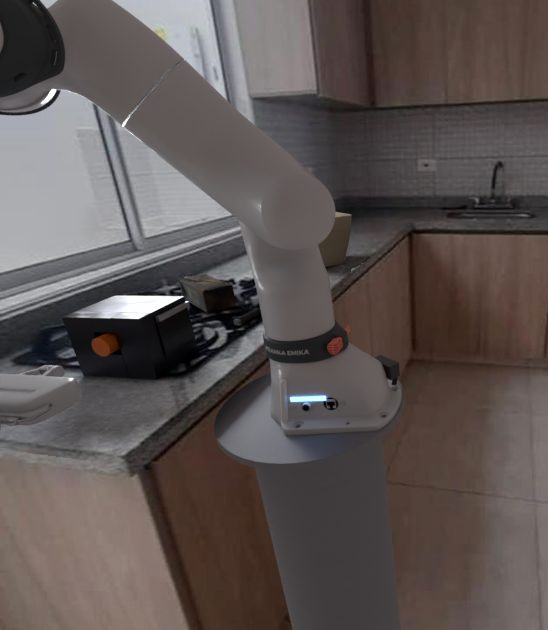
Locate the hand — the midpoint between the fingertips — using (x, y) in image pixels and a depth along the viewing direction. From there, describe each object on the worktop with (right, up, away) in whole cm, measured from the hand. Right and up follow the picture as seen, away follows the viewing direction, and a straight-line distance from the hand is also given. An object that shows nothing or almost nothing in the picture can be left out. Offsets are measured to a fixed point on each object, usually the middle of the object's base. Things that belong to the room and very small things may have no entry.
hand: (56, 369), depth 70 cm
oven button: (+2, +2, +10) cm, 10 cm away
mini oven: (+3, -1, +17) cm, 17 cm away
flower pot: (+23, +26, +84) cm, 91 cm away
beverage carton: (+1, +12, +50) cm, 51 cm away
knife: (+19, +9, +41) cm, 46 cm away
